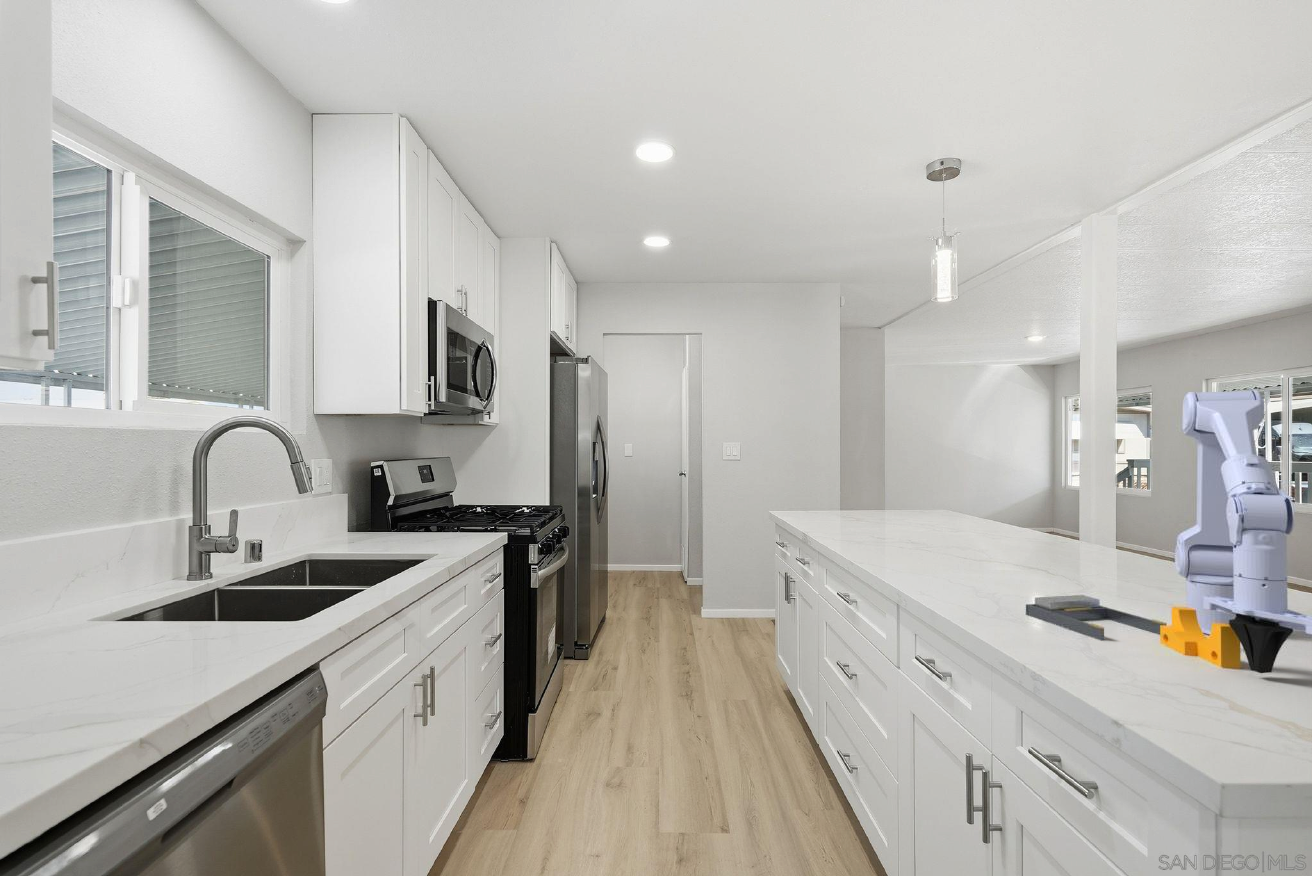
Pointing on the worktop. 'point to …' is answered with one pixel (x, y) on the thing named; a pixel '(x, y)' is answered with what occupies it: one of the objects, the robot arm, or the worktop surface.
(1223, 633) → the notched yellow bracket
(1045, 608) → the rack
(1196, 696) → the worktop surface
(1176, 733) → the worktop surface
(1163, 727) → the worktop surface
